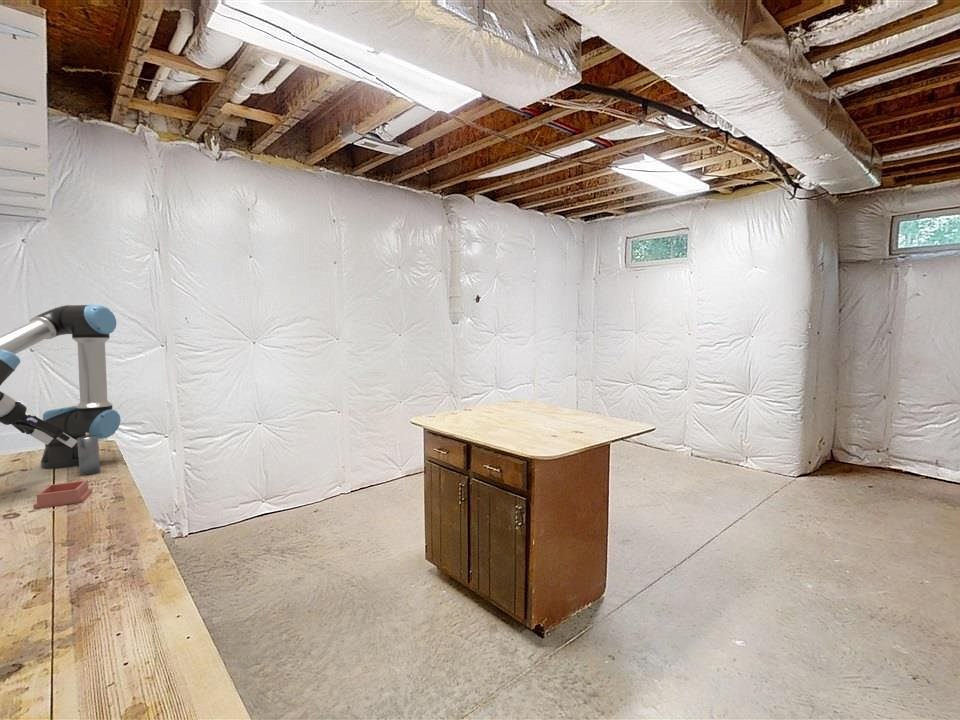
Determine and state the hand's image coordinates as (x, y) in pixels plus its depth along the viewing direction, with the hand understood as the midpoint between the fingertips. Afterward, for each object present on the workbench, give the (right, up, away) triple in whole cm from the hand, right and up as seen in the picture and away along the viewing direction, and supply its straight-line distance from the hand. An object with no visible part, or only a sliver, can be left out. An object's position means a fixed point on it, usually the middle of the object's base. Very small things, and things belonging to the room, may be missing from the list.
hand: (62, 442), depth 170 cm
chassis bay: (+17, -15, -18) cm, 29 cm away
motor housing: (+3, -13, +9) cm, 16 cm away
